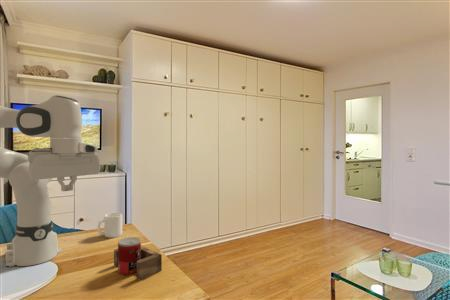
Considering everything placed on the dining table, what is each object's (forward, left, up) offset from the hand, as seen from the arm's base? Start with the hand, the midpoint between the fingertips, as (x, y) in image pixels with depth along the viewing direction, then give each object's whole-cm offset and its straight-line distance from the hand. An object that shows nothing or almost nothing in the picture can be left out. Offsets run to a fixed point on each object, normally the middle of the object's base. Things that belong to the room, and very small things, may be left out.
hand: (67, 190), depth 88 cm
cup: (-34, +32, -31) cm, 56 cm away
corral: (+6, +21, -31) cm, 38 cm away
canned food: (+5, +19, -31) cm, 37 cm away
